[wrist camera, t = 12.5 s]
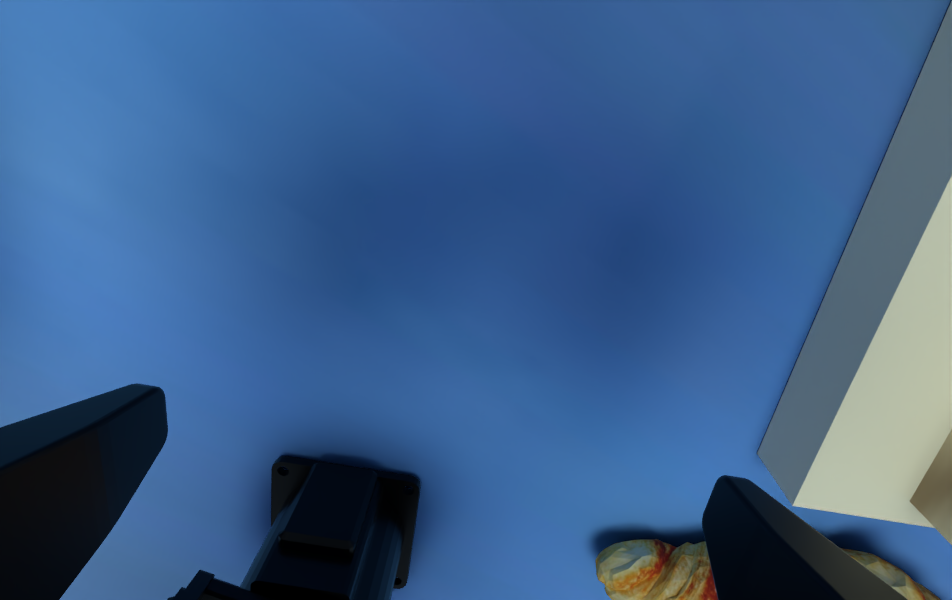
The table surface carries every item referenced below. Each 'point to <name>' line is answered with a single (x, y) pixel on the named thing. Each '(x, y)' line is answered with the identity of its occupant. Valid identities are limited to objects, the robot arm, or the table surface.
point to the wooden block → (937, 491)
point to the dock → (881, 332)
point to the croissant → (702, 572)
